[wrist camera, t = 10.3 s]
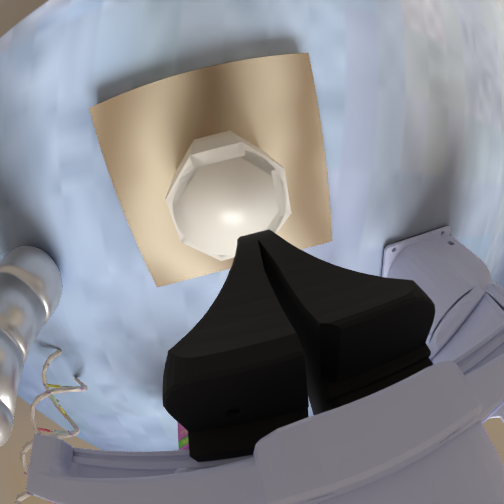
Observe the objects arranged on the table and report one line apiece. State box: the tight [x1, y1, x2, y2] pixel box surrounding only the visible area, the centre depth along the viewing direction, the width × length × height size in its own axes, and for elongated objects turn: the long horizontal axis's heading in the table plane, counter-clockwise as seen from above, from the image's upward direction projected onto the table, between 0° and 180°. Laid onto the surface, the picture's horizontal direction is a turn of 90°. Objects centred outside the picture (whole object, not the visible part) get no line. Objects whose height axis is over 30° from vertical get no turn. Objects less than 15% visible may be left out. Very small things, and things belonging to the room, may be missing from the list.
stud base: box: [89, 53, 332, 287], centre depth 16 cm, size 14×14×6 cm
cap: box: [165, 130, 292, 261], centre depth 15 cm, size 5×5×6 cm
